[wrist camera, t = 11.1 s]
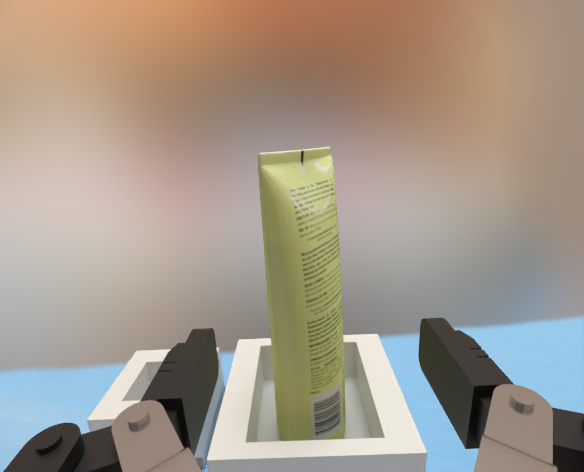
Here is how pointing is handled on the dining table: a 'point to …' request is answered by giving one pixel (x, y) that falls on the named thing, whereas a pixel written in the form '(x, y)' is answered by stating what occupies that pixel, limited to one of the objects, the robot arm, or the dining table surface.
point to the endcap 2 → (316, 453)
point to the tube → (304, 292)
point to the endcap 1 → (134, 387)
